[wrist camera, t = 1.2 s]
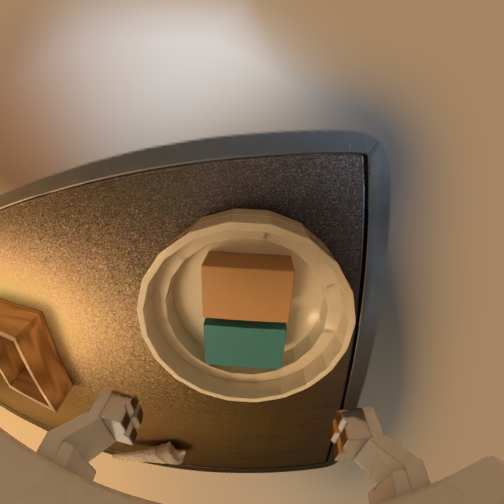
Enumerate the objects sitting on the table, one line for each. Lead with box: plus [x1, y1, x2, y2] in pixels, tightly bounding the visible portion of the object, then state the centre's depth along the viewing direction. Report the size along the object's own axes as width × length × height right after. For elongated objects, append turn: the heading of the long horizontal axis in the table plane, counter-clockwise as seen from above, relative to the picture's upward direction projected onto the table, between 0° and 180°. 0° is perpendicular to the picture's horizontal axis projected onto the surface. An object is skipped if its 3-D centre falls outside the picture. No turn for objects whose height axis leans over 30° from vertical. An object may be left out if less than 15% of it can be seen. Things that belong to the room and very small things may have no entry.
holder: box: [0, 299, 73, 412], centre depth 23 cm, size 13×11×6 cm
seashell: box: [112, 442, 186, 464], centre depth 29 cm, size 14×4×4 cm
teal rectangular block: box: [203, 318, 287, 369], centre depth 21 cm, size 4×6×3 cm, turn 87°
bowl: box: [137, 208, 356, 402], centre depth 20 cm, size 15×15×4 cm
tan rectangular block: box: [201, 251, 295, 323], centre depth 19 cm, size 4×6×3 cm, turn 87°
